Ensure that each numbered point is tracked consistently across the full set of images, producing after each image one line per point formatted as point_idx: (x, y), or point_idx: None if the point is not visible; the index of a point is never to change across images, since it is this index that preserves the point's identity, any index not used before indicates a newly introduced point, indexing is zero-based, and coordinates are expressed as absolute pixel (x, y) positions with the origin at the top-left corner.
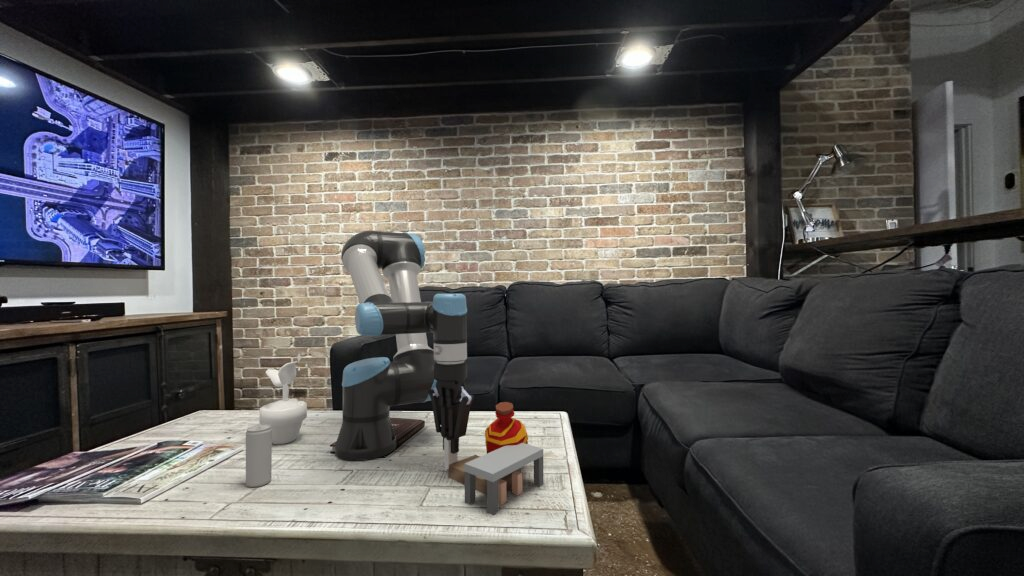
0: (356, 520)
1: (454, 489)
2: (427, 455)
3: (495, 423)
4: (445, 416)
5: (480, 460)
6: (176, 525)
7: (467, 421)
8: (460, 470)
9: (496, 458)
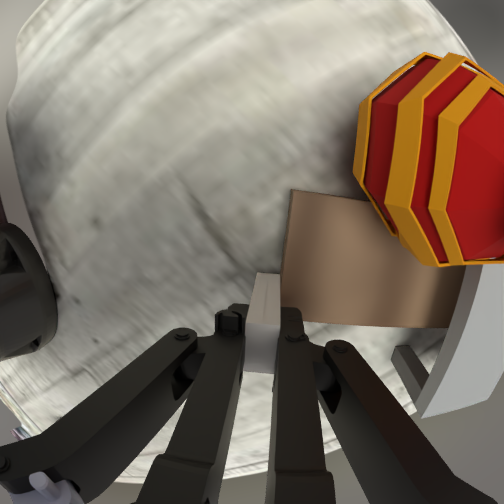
0: (260, 459)
1: (338, 337)
2: (106, 222)
3: (486, 218)
4: (227, 445)
5: (453, 383)
6: (129, 482)
7: (389, 396)
8: (336, 323)
9: (487, 347)
